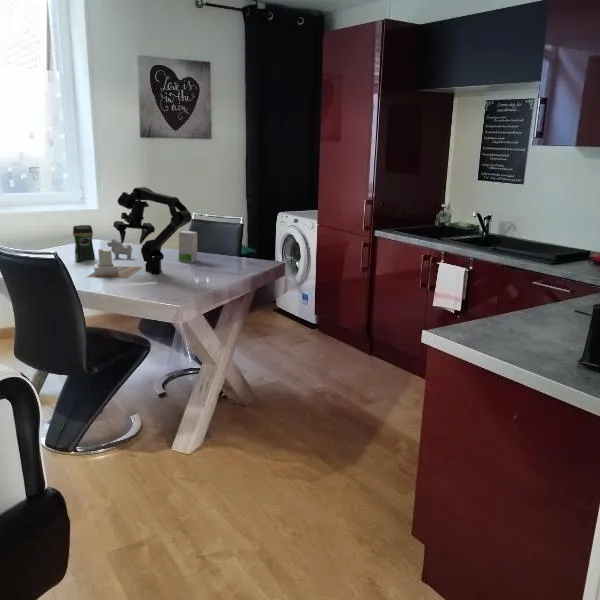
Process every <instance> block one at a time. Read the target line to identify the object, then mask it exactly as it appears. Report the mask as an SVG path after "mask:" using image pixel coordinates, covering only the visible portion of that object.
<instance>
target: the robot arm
mask: <svg viewBox="0 0 600 600" xmlns="http://www.w3.org/2000/svg"><path fill="white" fill-rule="evenodd" d="M148 201H150V202H155V203H157V204H158V203H159V204H162V205H166V206H168V209H169V214H170V216H171V218H170V222H169V224H168V225H166V227H164V228H163V230H162V231H161V232H160V233H159V234H158V235H157V236H156V237H155V238H154V239H149V240H146V239H147V238H148V236H150V235H152V233H155V230H156V228H155V226H154V225H153V224H152V223H151V222H143V220H144V218H145V217H144V214H145V208H148V207H150V205H149V204H148ZM117 204H118V206H121V207H123V208H125V209H127V210H130V212H129V214H128V213H127V212H121V214H120V218H121V220H124V221H121V220H115V221H114V222H113V228H115V229H116V230H117V231H118V232H119V236H120V242H122V243H123V244H124V243H125V242H124V241H125V237H126V234H127V229H136V230H141V234H140V238H139V244H141V248H140V253H141V256H142V259H143V262H146V263H145V265H144V267H145V273H146V272H147V273H151V274H152V275H160V274H161V273H163V270H162V260H164V257H165V255H164V254H163V253H162V251H161V250H162V246H163V245H164V244H165V243H166V242H167V241H168V240H169V239H170V238H172V236H173V235H174V234H175V233H176V232H177V231H178V230H179V229H180V228H182V227H184V226H186V225H187V224H189V223H190V222H191V221H192V219H193V218H192V214H191V212H190V211H189V210H188V208H187V206H185V205H184V204H183V203H182V202H181V201H180V199H179V198H178V197H176V196H171V195H166V194H162V193H160V192H159V193H158V192H155V191H153V190H152V189H150V188H148V187H145V186H142V187H134V188H133V189H132V191H131V192H130V194H129V193H128V192H126V191H122V193H121V195H119V197H118V199H117ZM125 222H126V223H125ZM145 240H146V241H145ZM144 241H145V242H144ZM143 242H144V244H142V243H143Z"/></svg>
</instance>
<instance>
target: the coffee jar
mask: <svg viewBox="0 0 600 600" xmlns="http://www.w3.org/2000/svg"><path fill="white" fill-rule="evenodd" d="M72 234H73V235H72V236H74V245H75V246H74V249H75V250H74V261H76V262H79V263H83V262H86V261H94V260H96V256H95V250H94V245H93V234H94V232H93V227H92V225H90V224H82V225H74V226H73V228H72Z"/></svg>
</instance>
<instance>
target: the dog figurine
mask: <svg viewBox="0 0 600 600" xmlns="http://www.w3.org/2000/svg"><path fill="white" fill-rule="evenodd" d="M123 244H124V242H123V243H122V242H121V241H118V240H116V239H115V238H112V239H111V241H107V242H106V245H107V246H108V247H109V248H111V249H110V250H111V253H113V254H114V260H118V259H119V258H120V255H125V256H126V261H129V260H130V259H129V258H132V251H133V248H132V246H131V245H130V244H126V245H123Z"/></svg>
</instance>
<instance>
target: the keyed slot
mask: <svg viewBox="0 0 600 600" xmlns="http://www.w3.org/2000/svg"><path fill="white" fill-rule="evenodd" d="M93 271H94V272H93V273H95V276H107V275H118V264H117V263H116V262H114V263H113V262H112V266H104V267H99V263H94V264H93Z"/></svg>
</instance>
